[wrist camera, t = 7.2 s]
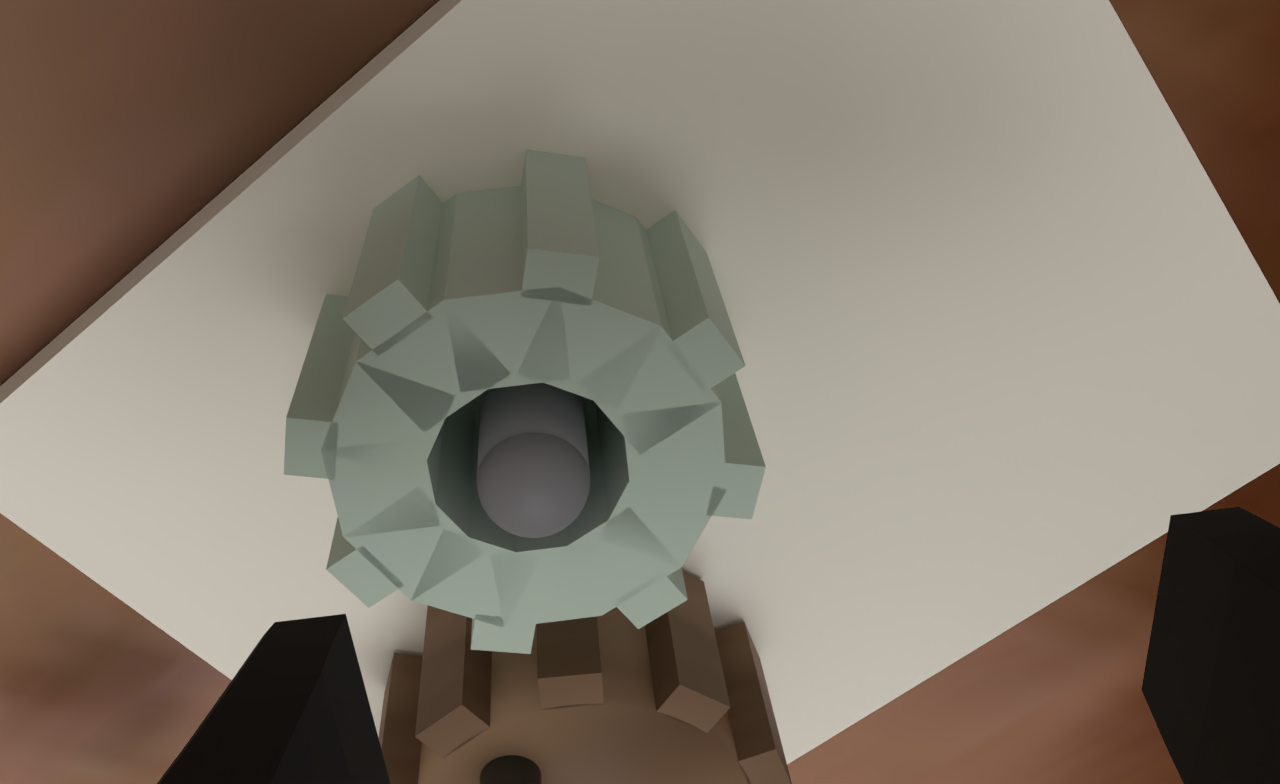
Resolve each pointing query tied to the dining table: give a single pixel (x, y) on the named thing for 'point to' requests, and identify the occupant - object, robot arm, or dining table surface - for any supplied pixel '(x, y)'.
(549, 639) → the drive gear
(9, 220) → the dining table surface
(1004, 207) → the gear board
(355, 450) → the sage gear
